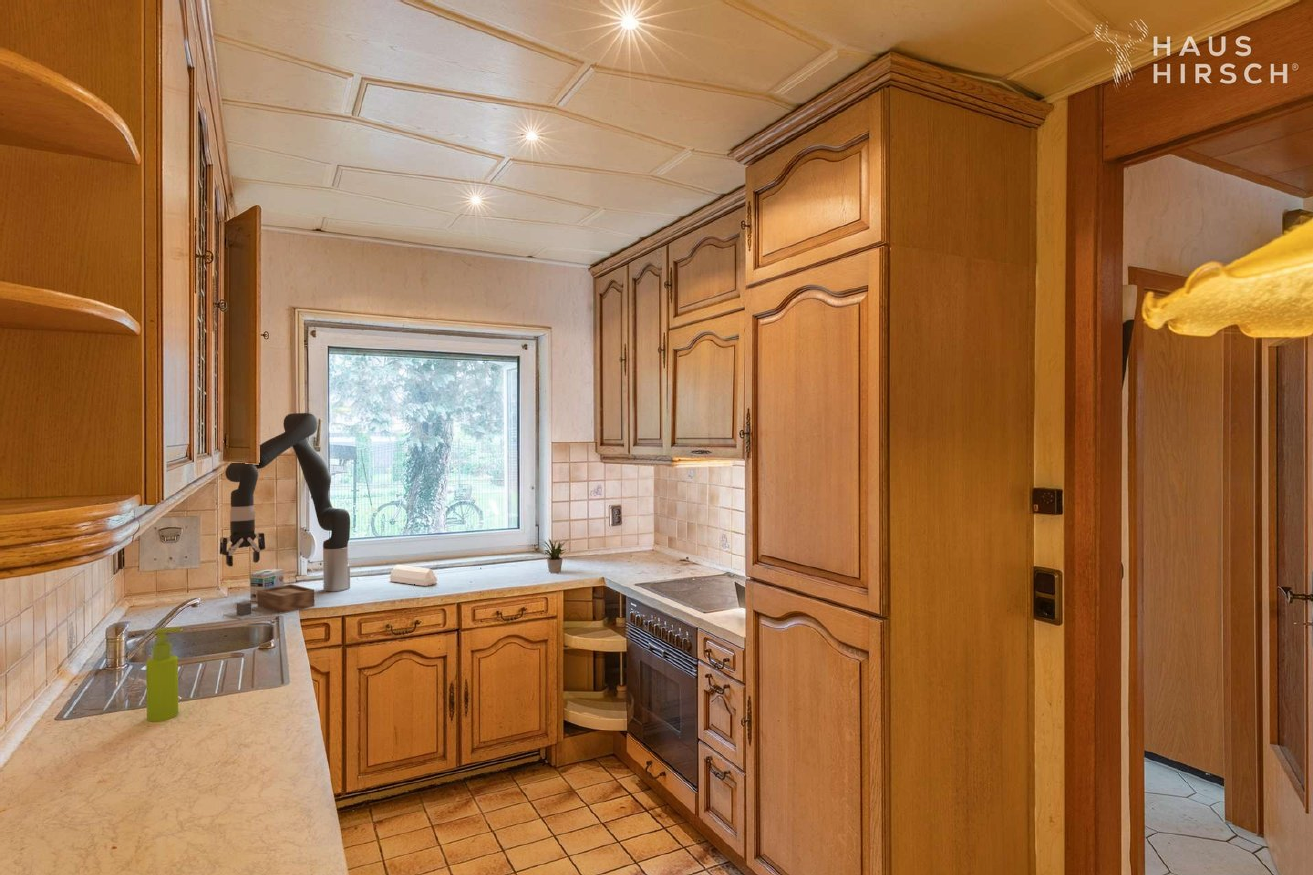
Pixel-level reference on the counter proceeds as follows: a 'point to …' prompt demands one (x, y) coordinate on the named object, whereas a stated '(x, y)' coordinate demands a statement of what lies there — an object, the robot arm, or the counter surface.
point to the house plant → (554, 557)
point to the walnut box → (285, 598)
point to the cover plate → (253, 614)
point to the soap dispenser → (162, 679)
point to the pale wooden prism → (413, 575)
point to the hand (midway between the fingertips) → (243, 564)
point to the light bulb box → (265, 581)
